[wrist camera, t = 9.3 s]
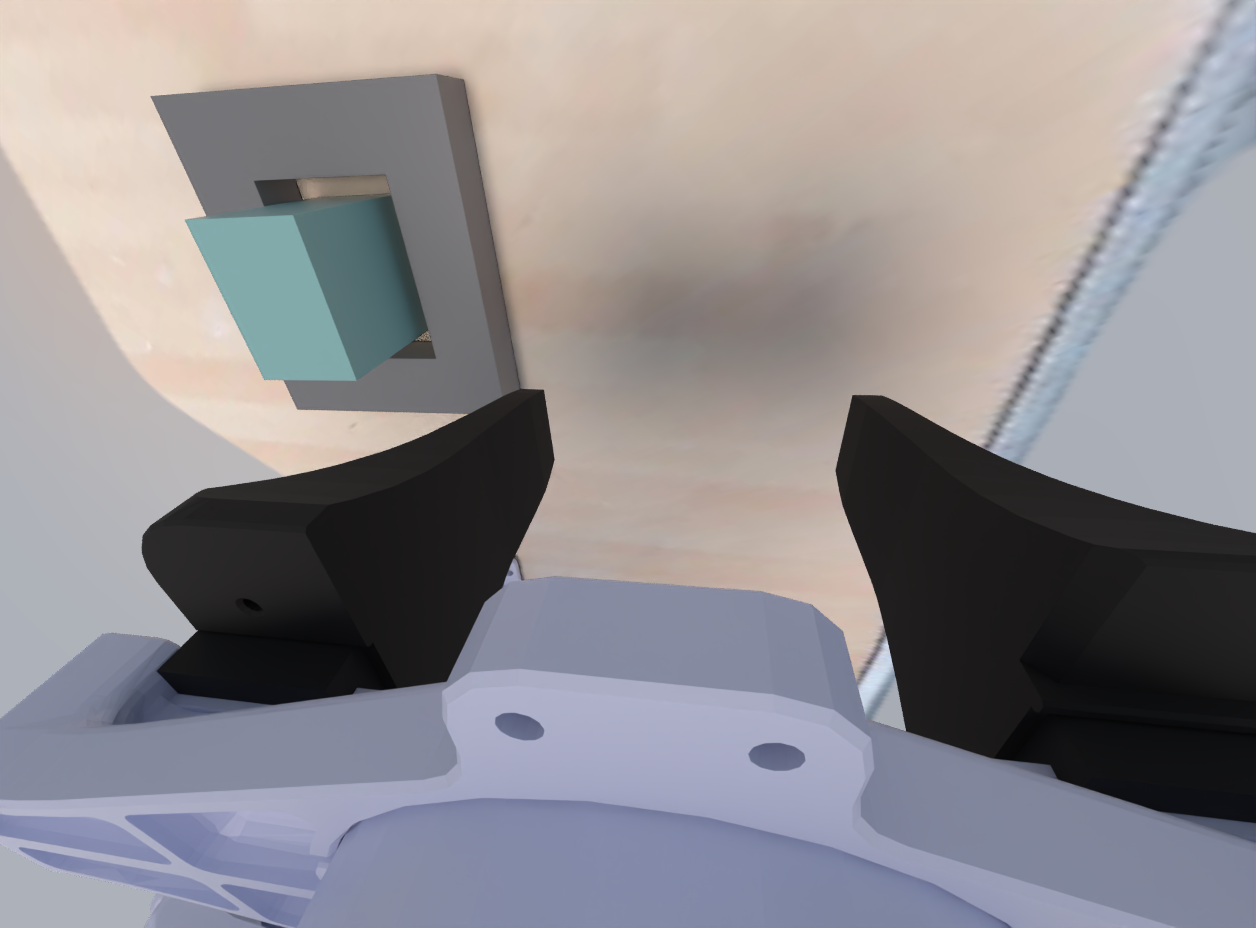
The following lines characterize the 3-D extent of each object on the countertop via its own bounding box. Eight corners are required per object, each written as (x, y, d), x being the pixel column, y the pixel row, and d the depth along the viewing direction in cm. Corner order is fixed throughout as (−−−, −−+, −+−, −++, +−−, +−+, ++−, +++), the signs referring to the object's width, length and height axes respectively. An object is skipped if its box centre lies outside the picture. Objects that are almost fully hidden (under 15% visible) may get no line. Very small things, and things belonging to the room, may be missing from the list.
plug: (437, 323, 21) (356, 380, 17) (364, 324, 22) (264, 379, 17) (402, 193, 19) (292, 215, 14) (319, 197, 19) (184, 219, 14)
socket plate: (521, 394, 23) (506, 414, 21) (325, 390, 24) (297, 409, 22) (463, 79, 16) (435, 74, 15) (202, 99, 18) (150, 96, 16)
